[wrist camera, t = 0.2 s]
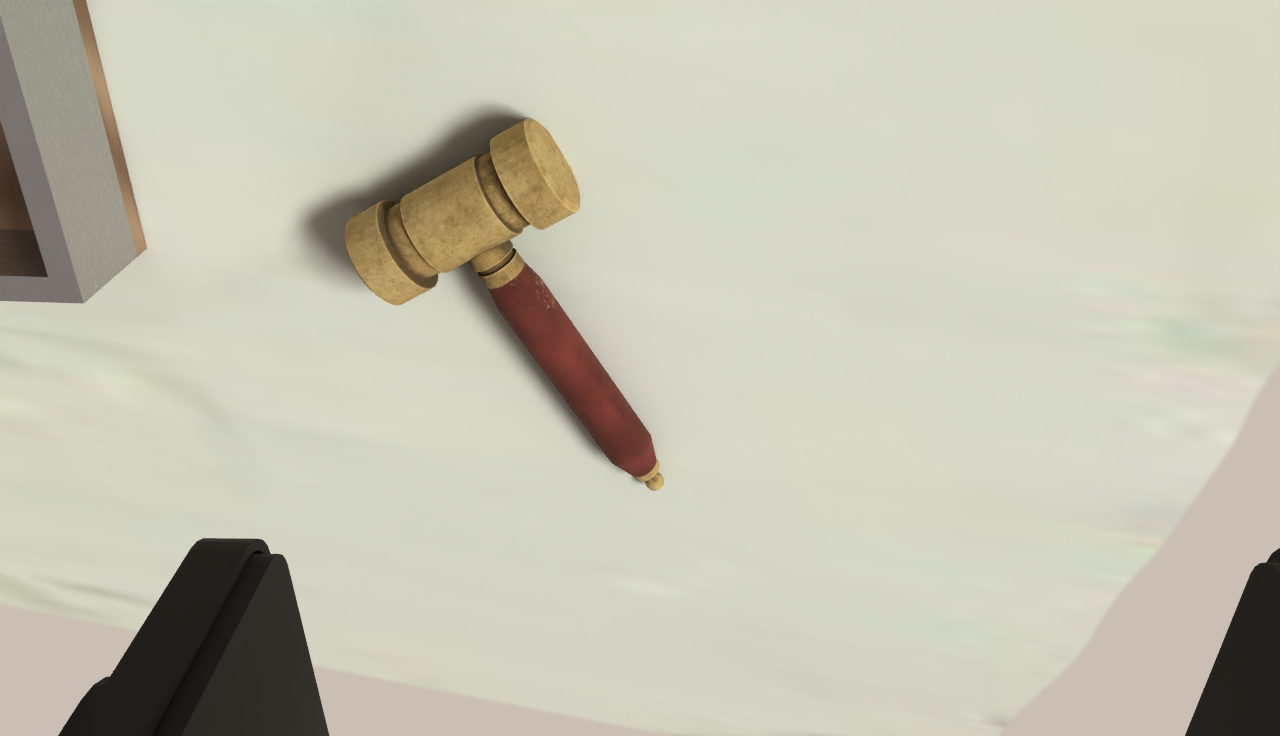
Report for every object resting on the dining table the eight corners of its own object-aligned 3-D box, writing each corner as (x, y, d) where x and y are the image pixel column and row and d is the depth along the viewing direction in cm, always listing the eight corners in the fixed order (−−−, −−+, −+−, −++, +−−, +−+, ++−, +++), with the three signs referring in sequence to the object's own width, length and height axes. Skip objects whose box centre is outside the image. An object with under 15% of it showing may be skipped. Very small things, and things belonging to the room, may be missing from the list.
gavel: (745, 479, 50) (579, 549, 53) (736, 426, 54) (582, 494, 57) (523, 138, 40) (331, 246, 43) (532, 102, 44) (355, 203, 47)
